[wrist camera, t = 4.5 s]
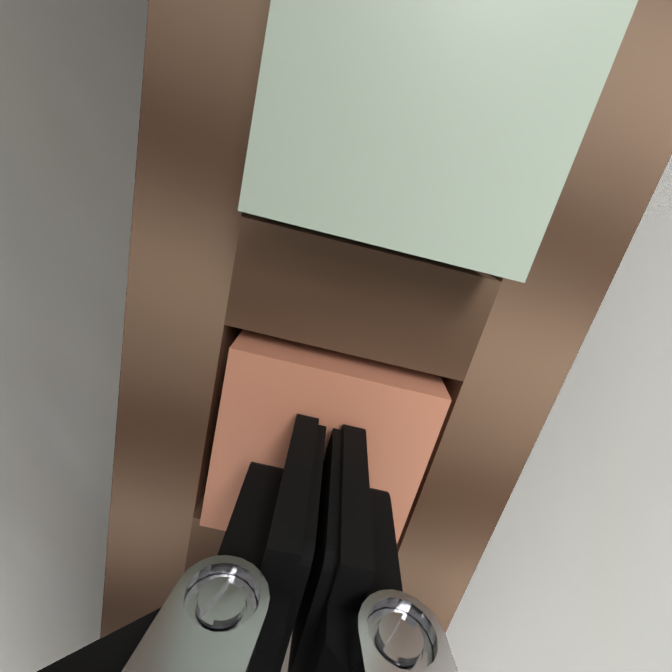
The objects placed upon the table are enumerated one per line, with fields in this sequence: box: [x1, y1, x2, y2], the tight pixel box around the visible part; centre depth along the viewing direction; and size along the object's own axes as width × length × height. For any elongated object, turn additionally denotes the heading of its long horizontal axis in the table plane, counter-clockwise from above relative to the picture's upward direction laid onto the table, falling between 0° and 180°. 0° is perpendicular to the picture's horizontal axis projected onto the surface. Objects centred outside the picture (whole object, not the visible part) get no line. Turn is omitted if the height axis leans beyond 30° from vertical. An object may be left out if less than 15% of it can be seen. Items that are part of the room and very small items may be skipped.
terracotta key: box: [199, 329, 452, 543], centre depth 12 cm, size 5×5×3 cm
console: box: [100, 0, 672, 639], centre depth 13 cm, size 32×10×4 cm, turn 166°
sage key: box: [238, 0, 638, 283], centre depth 8 cm, size 5×5×3 cm
